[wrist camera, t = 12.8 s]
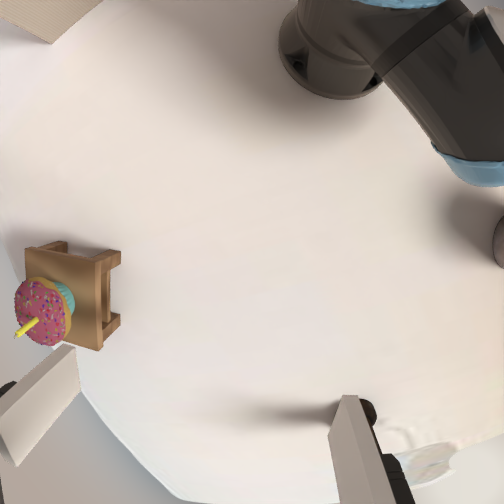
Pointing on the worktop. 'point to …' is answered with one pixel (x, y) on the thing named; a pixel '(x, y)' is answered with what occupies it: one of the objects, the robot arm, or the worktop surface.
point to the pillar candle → (499, 243)
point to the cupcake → (44, 310)
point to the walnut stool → (80, 289)
